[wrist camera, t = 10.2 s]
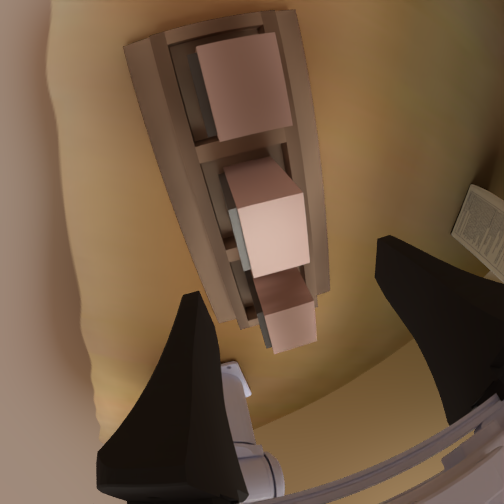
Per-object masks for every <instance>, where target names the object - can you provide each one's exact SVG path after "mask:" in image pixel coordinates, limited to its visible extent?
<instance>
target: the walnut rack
mask: <svg viewBox="0 0 504 504" xmlns="http://www.w3.org/2000/svg"><path fill="white" fill-rule="evenodd" d="M123 49H124V53H125V56H126V60H127V64H128V68H129V71H130V75H131V78H132V82H133V86H134V89H135V92H136V96H137V99H138V103H139V106H140V109H141V113H142V116H143V119H144V122H145V126H146V129H147V132H148V135H149V138H150V141H151V145H152V148H153V151H154V154H155V157H156V160H157V163H158V166H159V169H160V172H161V175H162V178H163V180H164V183H165V186H166V189H167V192H168V195H169V198H170V200H171V203H172V206H173V209H174V211H175V214H176V217H177V220H178V222H179V225H180V228H181V230H182V233H183V236H184V238H185V241H186V244H187V246H188V249H189V251H190V254H191V257H192V259H193V262H194V264H195V267H196V269H197V272H198V274H199V277H200V279H201V282H202V284H203V287H204V289H205V292H206V294H207V296H208V299H209V301H210V304H211V306H212V308H213V311H214V313H215V315H216V318H217V320H218V322H219V323H222V322H226V321H230V320H234V319H237V322H238V325H239V327H240V330H241V329H245V328H249V327H252V326H256V325H260V328H261V331H262V335H263V338H264V342H265V345H266V348H270V347H272V348H273V351H274V354H276V353H280V352H283V351H287V350H290V349H293V348H296V347H300V346H303V345H306V344H309V343H312V342H315V341H317V334H316V319H315V308H316V307H318V303H317V295H319V294H322V293H325V292H328V291H330V276H329V255H328V238H327V223H326V210H325V198H324V188H323V177H322V168H321V159H320V150H319V142H318V134H317V127H316V120H315V113H314V106H313V99H312V93H311V87H310V81H309V75H308V69H307V64H306V58H305V53H304V48H303V43H302V38H301V33H300V28H299V24H298V19H297V15H296V10H282V11H275V10H270V11H261V12H253V13H246V14H239V15H233V16H227V17H222V18H217V19H212V20H207V21H203V22H198V23H194V24H190V25H186V26H182V27H178V28H175V29H171V30H168V31H164V32H161V33H158V34H155V35H151V36H149V38H146V39H143V40H140V41H137V42H135V43H132V44H129V45H126V46H124V47H123ZM269 156H271V157H272V158H273V160H274V161H275V162H276V163H277V164H278V165H279V166H280V167H281V168H282V169H283V170H284V172H285V173H286V174H287V175H288V176H289V177H290V178H291V179H292V181H293V182H294V183H295V184H296V185H297V186H298V187H299V188H300V190H301V191H302V192H303V195H304V204H305V214H306V224H307V234H308V245H309V257H310V263H307V264H304V265H300V266H297V267H293V268H289V269H286V270H282V271H279V272H275V273H271V274H268V275H264V276H260V277H257V278H254V277H253V274H252V271H251V270H247V271H243V267H242V263H241V260H240V256H239V253H238V249H237V245H236V242H235V238H234V235H233V231H232V227H231V224H230V220H229V216H228V212H227V208H226V204H225V200H224V196H223V192H222V188H221V184H220V180H219V176H218V174H222V173H224V169H223V167H226V166H230V165H234V164H238V163H242V162H247V161H251V160H255V159H260V158H264V157H269Z"/></svg>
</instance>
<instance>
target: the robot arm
mask: <svg viewBox="0 0 504 504" xmlns="http://www.w3.org/2000/svg"><path fill="white" fill-rule="evenodd" d="M375 279H376V281H377V283H378V284H379V286H380V288H381V290H382V292H383V294H384V295H385V297H386V299H387V300H388V301H389V303H390V304H391V306H392V307H393V308H394V310H395V311H396V313H397V314H398V315H399V317H400V318H401V320H402V321H403V323H404V324H405V325H406V327H407V328H408V330H409V331H410V333H411V334H412V336H413V337H414V339H415V340H416V342H417V344H418V346H419V348H420V349H421V352H422V354H423V355H424V357H425V360H426V362H427V364H428V366H429V369H430V371H431V373H432V375H433V378H434V380H435V383H436V386H437V388H438V391H439V394H440V397H441V400H442V403H443V407H444V410H445V414H446V418H447V422H448V423H449V425H450V426H449V427H447V428H446V429H444V430H442V431H441V432H439V433H437V434H436V435H434V436H432V437H430V438H429V439H427V440H425V441H423V442H422V443H420V444H418V445H416V446H414V447H412V448H410V449H409V450H407V451H405V452H402V453H401V454H398V455H396V456H394V457H392V458H390V459H388V460H386V461H384V462H381V463H379V464H377V465H374V466H372V467H370V468H367V469H365V470H363V471H360V472H357V473H355V474H352V475H350V476H347V477H344V478H342V479H339V480H336V481H333V482H330V483H327V484H324V485H321V486H318V487H314V488H311V489H308V490H304V491H301V492H297V493H293V494H289V495H285V496H284V492H285V483H284V476H283V473H282V469H281V466H280V464H279V462H278V461H277V459H276V458H275V457H274V456H272V455H271V454H270V453H269V452H263V448H262V445H256V442H255V437H254V433H253V429H252V424H251V420H250V415H249V411H248V406H247V402H246V397H248V396H250V395H251V391H250V388H249V386H248V384H247V382H246V380H245V378H244V375H243V373H242V371H241V369H240V367H239V364H238V362H236V361H231V362H227V363H223V364H221V362H220V351H219V345H218V340H217V335H216V331H215V326H214V324H213V322H212V319H211V317H210V315H209V313H208V310H207V308H206V306H205V303H204V301H203V299H202V297H201V294H200V292H199V291H196V292H192V293H189V294H185V295H183V297H182V299H181V302H180V306H179V309H178V312H177V315H176V318H175V321H174V324H173V327H172V330H171V332H170V335H169V338H168V341H167V343H166V346H165V348H164V350H163V353H162V355H161V357H160V360H159V362H158V364H157V366H156V368H155V370H154V372H153V374H152V376H151V378H150V380H149V382H148V384H147V386H146V387H145V389H144V391H143V393H142V394H141V396H140V398H139V399H138V401H137V402H136V404H135V406H134V407H133V409H132V410H131V411H130V413H129V414H128V416H127V417H126V418H125V420H124V421H123V423H122V424H121V425H120V427H119V428H118V429H117V431H116V432H115V433H114V434H113V435H112V436H111V438H110V439H109V440H108V441H107V442H106V443H105V444H104V446H103V447H102V448H101V449H100V450H99V451H98V453H97V462H96V467H97V468H96V474H97V475H96V476H97V489H98V490H99V491H101V492H102V493H105V494H107V495H110V496H113V497H116V498H119V499H122V500H126V501H127V504H326V503H329V502H332V501H335V500H338V499H341V498H344V497H346V496H349V495H352V494H354V493H357V492H360V491H362V490H365V489H367V488H370V487H372V486H374V485H377V484H379V483H381V482H383V481H386V480H388V479H390V478H392V477H394V476H396V475H398V474H400V473H402V472H404V471H406V470H408V469H410V468H412V467H414V466H416V465H418V464H420V463H421V462H423V461H425V460H427V459H429V458H430V457H432V456H434V455H435V454H437V453H439V452H440V451H442V450H444V449H445V448H447V447H449V446H450V445H452V444H453V443H455V442H456V441H458V440H459V439H461V438H462V437H464V436H465V435H467V434H468V433H469V432H471V431H472V430H474V429H475V428H476V429H475V431H474V435H473V436H472V437H470V438H469V439H467V440H466V441H465V442H463V443H462V444H460V445H459V446H458V447H457V448H456V449H454V450H453V451H452V452H450V453H449V454H447V455H446V456H445V457H443V458H442V460H441V461H442V463H443V465H444V468H445V469H444V470H443V471H441V472H440V473H438V474H436V475H434V476H433V477H431V478H429V479H428V480H426V481H424V482H422V483H420V484H418V485H417V486H415V487H413V488H411V489H409V490H407V491H405V492H403V493H401V494H399V495H397V496H394V497H392V498H390V499H388V500H386V501H384V502H381V503H379V504H504V284H502V283H498V282H495V281H492V280H488V279H485V278H482V277H479V276H476V275H474V274H471V273H469V272H466V271H464V270H461V269H459V268H456V267H454V266H452V265H450V264H448V263H446V262H444V261H441V260H439V259H437V258H435V257H433V256H431V255H429V254H427V253H425V252H424V251H422V250H420V249H418V248H416V247H414V246H412V245H410V244H408V243H406V242H404V241H402V240H400V239H398V238H396V237H393V236H391V235H388V236H385V237H382V238H379V239H377V254H376V268H375Z"/></svg>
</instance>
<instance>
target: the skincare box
mask: <svg viewBox="0 0 504 504" xmlns="http://www.w3.org/2000/svg"><path fill="white" fill-rule="evenodd" d="M451 235H452V236H453V237H454V238H455V239H456V240H457V241H459V242H460V243H461V244H462V245H463V246H464V247H466V248H467V249H468V250H469V251H470V252H471V253H472V254H474V255H475V256H476V257H477V258H478V259H479V260H480V261H481V262H482V263H483V264H484V265H485V266H486V267H488V268H489V269H490V270H491V271H492V272H493V273H494V274H495V275H496V276H497V277H498V278H499V279H500V280H501V281H502V282H503V283H504V201H503V200H502V199H500V198H499V197H497V196H496V195H494V194H493V193H491V192H489V191H487V190H485V189H483V188H481V187H478V186H476V185H473V184H471V185H470V188H469V190H468V193H467V196H466V198H465V201H464V203H463V206H462V209H461V211H460V214H459V216H458V218H457V221H456V223H455V226H454V229H453V231H452V233H451Z"/></svg>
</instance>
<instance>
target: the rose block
mask: <svg viewBox="0 0 504 504" xmlns="http://www.w3.org/2000/svg"><path fill="white" fill-rule="evenodd" d="M223 169H224V173H222V174H218V176H219V180H220V184H221V188H222V192H223V196H224V200H225V204H226V208H227V212H228V216H229V220H230V224H231V227H232V231H233V235H234V238H235V242H236V245H237V249H238V253H239V256H240V260H241V263H242V267H243V271H247V270H251V271H252V274H253V277H254V278H257V277H260V276H264V275H268V274H271V273H275V272H279V271H282V270H286V269H289V268H293V267H297V266H300V265H304V264H307V263H310V257H309V245H308V234H307V224H306V214H305V204H304V195H303V192H302V191H301V190H300V188H299V187H298V186H297V185H296V184H295V183H294V182H293V181H292V179H291V178H290V177H289V176H288V175H287V174H286V173H285V172H284V170H283V169H282V168H281V167H280V166H279V165H278V164H277V163H276V162H275V161H274V160H273V158H272V157H271V156H269V157H264V158H260V159H255V160H251V161H247V162H242V163H238V164H234V165H230V166H226V167H223Z"/></svg>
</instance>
